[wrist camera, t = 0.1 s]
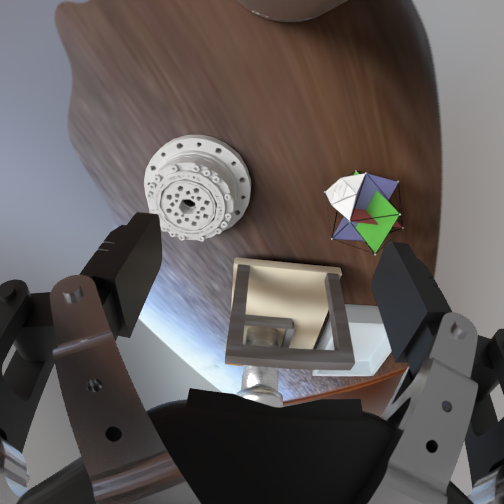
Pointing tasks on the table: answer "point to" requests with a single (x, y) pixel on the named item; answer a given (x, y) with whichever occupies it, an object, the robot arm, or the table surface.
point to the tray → (359, 341)
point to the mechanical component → (197, 187)
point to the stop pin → (261, 370)
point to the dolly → (288, 315)
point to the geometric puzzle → (364, 208)
